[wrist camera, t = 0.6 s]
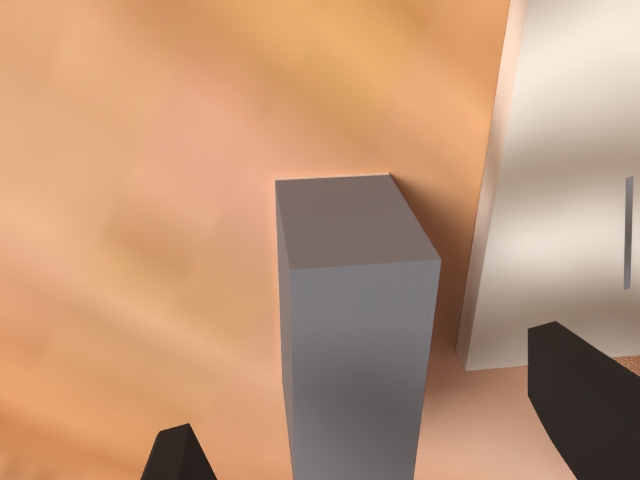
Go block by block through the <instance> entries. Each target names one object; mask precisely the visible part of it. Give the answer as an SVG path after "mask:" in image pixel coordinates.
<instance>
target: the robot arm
mask: <svg viewBox="0 0 640 480" xmlns="http://www.w3.org/2000/svg"><path fill="white" fill-rule="evenodd" d="M528 397H529V399H530V401H531V403H532V405H533V407H534V409H535V411H536V413H537V415H538V417H539V419H540V421H541V422H542V424H543V426H544V428H545V430H546V432H547V434H548V436H549V437H550V439H551V441H552V442H553V444H554V445H555V447H556V449H557V450H558V452H559V453H560V455H561V456H562V458H563V459H564V460H565V462H566V463H567V465H568V466H569V468H570V469H571V471H572V472H573V474H574V475H575V477H576V478H577V480H640V377H639V376H638V375H636V374H635V373H633V372H631V371H630V370H628V369H627V368H625V367H624V366H622V365H621V364H619V363H618V362H616V361H615V360H613V359H612V358H610V357H609V356H607V355H606V354H604V353H603V352H601V351H600V350H598V349H597V348H595V347H594V346H592V345H591V344H589V343H588V342H586V341H585V340H583V339H582V338H581V337H579V336H578V335H576V334H575V333H573V332H572V331H570V330H569V329H567V328H566V327H564V326H563V325H561V324H560V323H558V322H557V321H553V322H550V323H546V324H543V325H539V326H535V327H532V328H528ZM140 480H217V478H216V476H215V474H214V472H213V470H212V468H211V466H210V464H209V462H208V460H207V458H206V456H205V454H204V452H203V450H202V448H201V446H200V444H199V442H198V440H197V438H196V436H195V434H194V432H193V430H192V428H191V426H190V424H189V423H188V424H184V425H180V426H177V427H173V428H170V429H166V430H163V431H160V432H159V433H158V435H157V436H156V439H155V442H154V445H153V447H152V450H151V453H150V456H149V458H148V461H147V464H146V466H145V469H144V472H143V474H142V477H141V479H140Z"/></svg>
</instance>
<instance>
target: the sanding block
mask: <svg viewBox="0 0 640 480" xmlns="http://www.w3.org/2000/svg"><path fill="white" fill-rule="evenodd" d="M275 203H276V231H277V258H278V285H279V313H280V340H281V367H282V382H283V391H284V400H285V409H286V418H287V427H288V436H289V445H290V454H291V463H292V472H293V480H413V478H414V470H415V462H416V454H417V447H418V439H419V431H420V423H421V415H422V408H423V400H424V392H425V384H426V377H427V369H428V361H429V353H430V346H431V338H432V330H433V322H434V314H435V307H436V299H437V291H438V283H439V276H440V268H441V260H442V259H441V258H440V256H439V254H438V253H437V251H436V249H435V248H434V246H433V245H432V243H431V241H430V240H429V238H428V236H427V235H426V233H425V231H424V230H423V228H422V227H421V225H420V223H419V222H418V220H417V218H416V217H415V215H414V213H413V212H412V210H411V209H410V207H409V205H408V204H407V202H406V200H405V199H404V197H403V195H402V194H401V192H400V191H399V189H398V187H397V186H396V184H395V182H394V181H393V179H392V177H391V176H390V174H389V173H388V172H387V173H366V174H346V175H325V176H305V177H284V178H275Z"/></svg>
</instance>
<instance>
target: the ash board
mask: <svg viewBox="0 0 640 480" xmlns="http://www.w3.org/2000/svg"><path fill="white" fill-rule="evenodd" d="M553 321H557V322H558V323H560V324H561V325H563V326H564V327H566V328H567V329H569V330H570V331H572V332H573V333H575V334H576V335H578V336H579V337H581V338H582V339H583V340H585V341H586V342H588V343H589V344H591V345H592V346H594V347H595V348H597V349H598V350H600V351H601V352H603V353H604V354H606V355H607V356H609V357H610V358H615V357H626V356H637V355H640V0H510V7H509V13H508V19H507V26H506V32H505V39H504V45H503V51H502V58H501V64H500V71H499V77H498V83H497V90H496V96H495V103H494V109H493V115H492V122H491V128H490V135H489V141H488V147H487V154H486V160H485V167H484V173H483V179H482V186H481V192H480V198H479V205H478V211H477V218H476V224H475V230H474V237H473V243H472V250H471V256H470V262H469V269H468V275H467V282H466V288H465V294H464V301H463V307H462V314H461V320H460V326H459V333H458V339H457V346H456V354H457V356H458V358H459V360H460V362H461V364H462V366H463V368H464V370H465V371H474V370H485V369H496V368H507V367H517V366H528V328H532V327H535V326H539V325H543V324H546V323H550V322H553Z"/></svg>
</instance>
